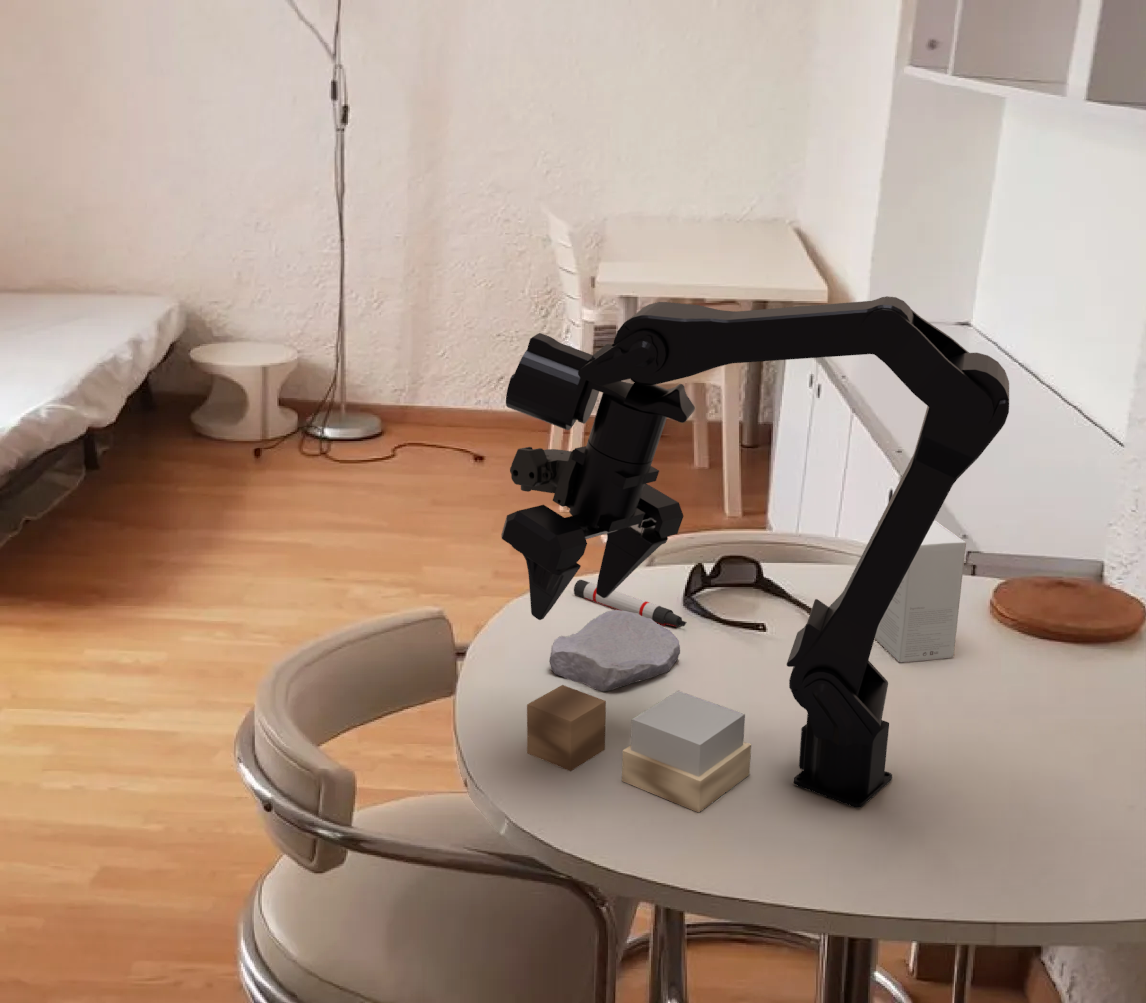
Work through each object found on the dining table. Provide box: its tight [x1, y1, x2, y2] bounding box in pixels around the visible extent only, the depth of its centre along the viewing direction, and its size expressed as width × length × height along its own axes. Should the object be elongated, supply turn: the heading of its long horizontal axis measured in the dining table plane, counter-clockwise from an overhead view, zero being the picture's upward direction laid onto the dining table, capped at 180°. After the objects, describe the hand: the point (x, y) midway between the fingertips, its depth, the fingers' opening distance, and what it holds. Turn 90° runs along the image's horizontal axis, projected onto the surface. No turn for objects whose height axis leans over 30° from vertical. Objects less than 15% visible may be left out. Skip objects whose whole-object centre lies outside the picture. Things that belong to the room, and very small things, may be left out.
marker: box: [573, 579, 687, 628], centre depth 155 cm, size 15×2×2 cm, turn 49°
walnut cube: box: [526, 684, 607, 772], centre depth 125 cm, size 5×5×5 cm
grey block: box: [630, 690, 746, 777], centre depth 120 cm, size 7×7×3 cm
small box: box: [874, 519, 967, 663], centre depth 146 cm, size 8×6×13 cm
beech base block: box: [621, 741, 752, 813], centre depth 121 cm, size 8×8×3 cm
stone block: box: [548, 609, 681, 692], centre depth 142 cm, size 12×5×10 cm
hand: (569, 606), depth 123 cm, fingers open, 9 cm apart
